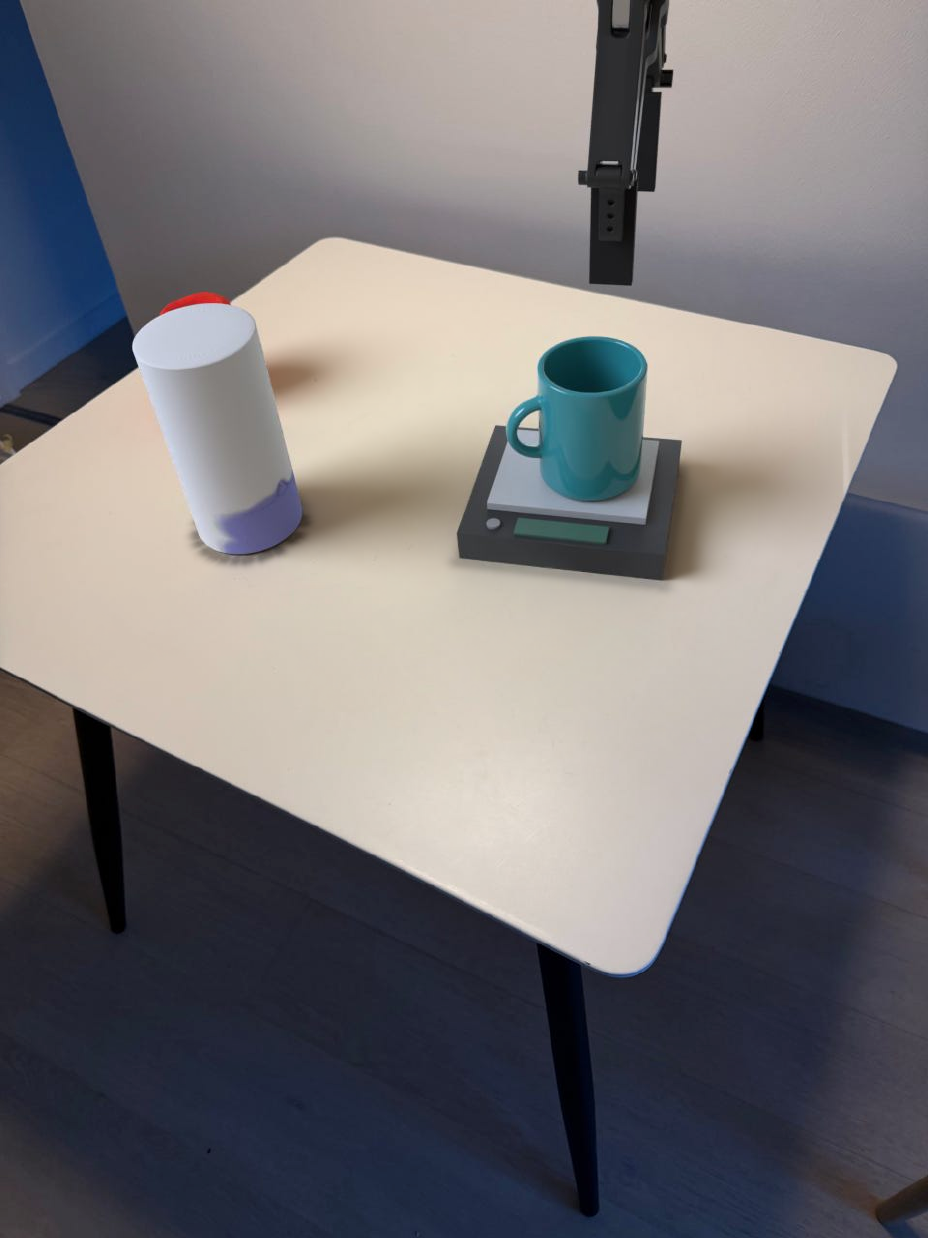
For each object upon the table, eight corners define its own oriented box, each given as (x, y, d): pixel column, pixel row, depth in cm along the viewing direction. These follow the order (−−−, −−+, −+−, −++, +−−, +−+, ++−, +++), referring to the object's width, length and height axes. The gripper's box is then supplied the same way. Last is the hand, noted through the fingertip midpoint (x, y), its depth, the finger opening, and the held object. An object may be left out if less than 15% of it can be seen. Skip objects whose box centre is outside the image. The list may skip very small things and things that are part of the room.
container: (238, 477, 99) (181, 292, 85) (322, 500, 96) (279, 312, 81) (177, 540, 93) (105, 353, 79) (264, 567, 90) (206, 376, 75)
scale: (679, 465, 95) (682, 432, 92) (662, 580, 85) (665, 548, 82) (496, 449, 99) (494, 417, 96) (459, 558, 89) (455, 526, 86)
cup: (498, 457, 92) (491, 351, 84) (622, 434, 93) (628, 327, 85) (521, 519, 86) (516, 411, 78) (654, 494, 87) (663, 384, 79)
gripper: (604, -196, 61) (596, 155, 77) (527, -97, 45) (536, 325, 60) (728, -203, 60) (694, 157, 75) (695, -102, 43) (661, 332, 59)
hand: (624, 233), depth 68 cm, fingers open, 13 cm apart
